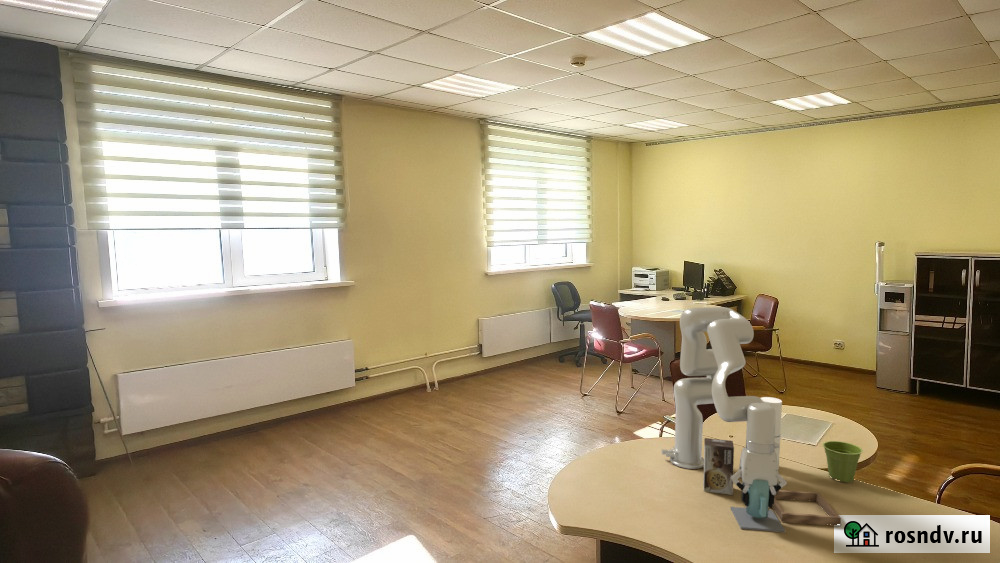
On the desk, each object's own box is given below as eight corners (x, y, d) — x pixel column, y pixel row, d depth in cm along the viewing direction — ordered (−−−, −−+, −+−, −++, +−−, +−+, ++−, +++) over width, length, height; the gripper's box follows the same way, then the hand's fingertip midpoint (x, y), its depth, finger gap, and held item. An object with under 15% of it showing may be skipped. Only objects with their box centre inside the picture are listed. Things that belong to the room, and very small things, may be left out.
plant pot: (826, 468, 202) (828, 438, 201) (864, 478, 194) (866, 447, 193) (816, 478, 194) (818, 447, 193) (855, 489, 186) (857, 456, 185)
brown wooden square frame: (781, 521, 165) (782, 513, 165) (765, 496, 181) (765, 489, 181) (840, 526, 163) (840, 518, 163) (818, 500, 179) (818, 492, 178)
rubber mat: (740, 528, 161) (741, 527, 161) (730, 508, 173) (730, 506, 173) (785, 532, 160) (785, 530, 160) (771, 511, 171) (771, 509, 171)
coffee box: (731, 487, 188) (733, 440, 186) (733, 495, 182) (734, 447, 180) (702, 483, 191) (704, 437, 189) (703, 491, 185) (704, 444, 183)
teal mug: (743, 507, 170) (745, 472, 169) (764, 508, 169) (766, 473, 168) (752, 522, 161) (753, 485, 160) (774, 524, 160) (776, 487, 159)
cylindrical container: (782, 471, 200) (785, 403, 198) (762, 471, 200) (765, 403, 198) (773, 463, 207) (776, 397, 205) (753, 463, 207) (756, 396, 205)
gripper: (786, 443, 167) (783, 501, 168) (725, 439, 169) (723, 496, 171) (796, 452, 159) (792, 513, 161) (732, 449, 162) (729, 508, 164)
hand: (757, 504), depth 166 cm, fingers closed on teal mug, 6 cm apart
